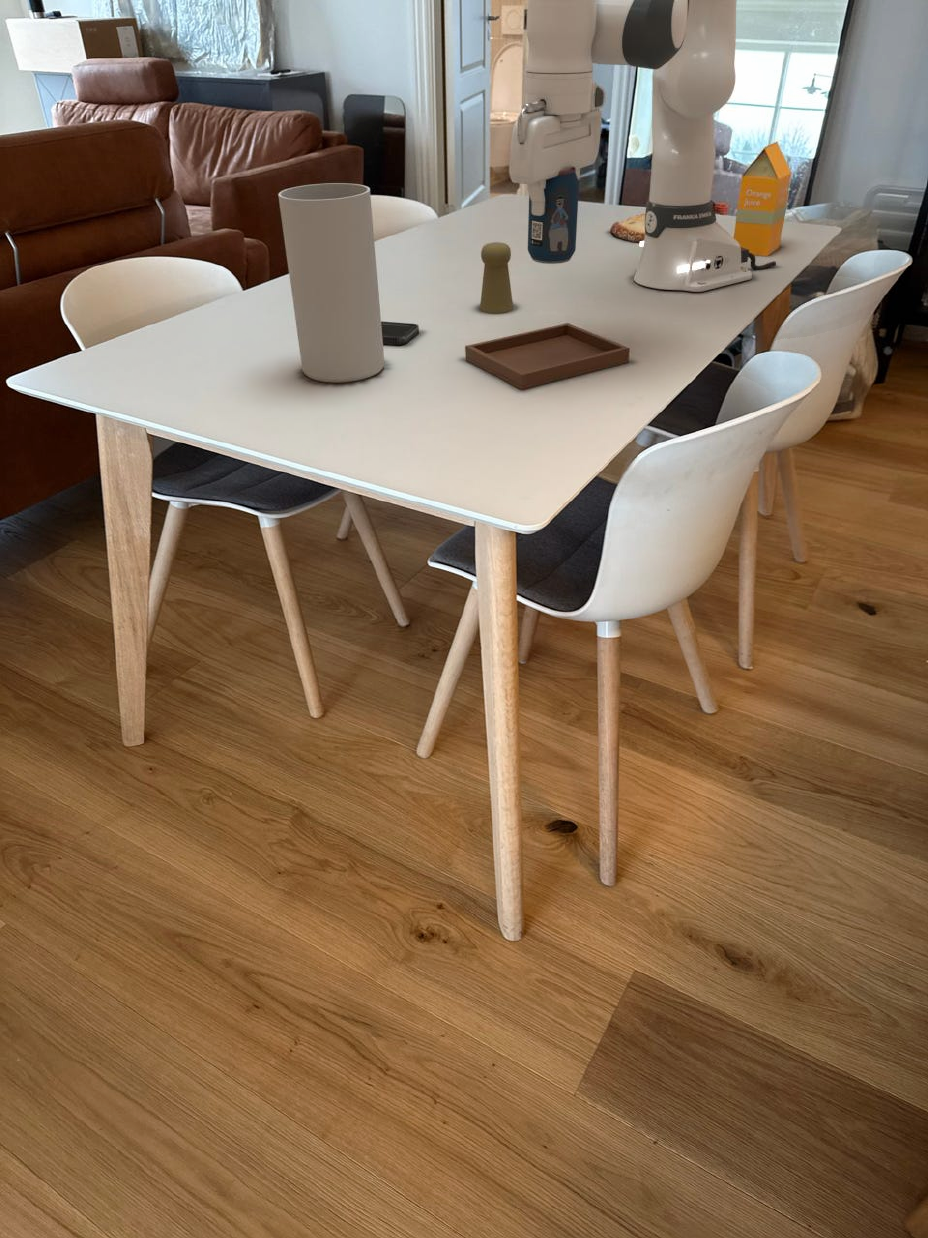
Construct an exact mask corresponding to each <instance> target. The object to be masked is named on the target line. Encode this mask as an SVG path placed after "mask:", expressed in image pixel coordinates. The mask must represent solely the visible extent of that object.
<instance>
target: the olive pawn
mask: <svg viewBox="0 0 928 1238" xmlns="http://www.w3.org/2000/svg"><path fill="white" fill-rule="evenodd" d="M511 256H512V251H511V247H510V246H509V245H508V244H507V243H504V242H500V241H498V242H497V241H496V242H495V241H494V242H489V243H486V244H484V245H483V246H482V248H481V251H480V257H481V261H482V263H483V264H484V266H483V275H482V284H481V285H482V286H481V294H480V305H479V311H481V312H484V313H487V314H503V313H509V312H511V311H512V310H514V303H513V294H512V287H511V279H510V278H511V277H510V271H509V262H510V261H511V258H512V257H511Z"/></svg>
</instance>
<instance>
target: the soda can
mask: <svg viewBox="0 0 928 1238" xmlns="http://www.w3.org/2000/svg"><path fill="white" fill-rule="evenodd" d="M575 171H576V168H575V167H573V169H572V170H570V171H562V172H559V174H558V176H556V177H553V178H550V179H547V180H546V188H544V195H545V200H548V207H547V209H548V211H547V213H546V214H544V215H541V216H537V215H533V214H532V212H531V208H532V201H531V199H530V196H529V195H528V218H527V219H528V220H527V221H528V222H527V223H528V225H527V251H528V254H529V256H530V258H531V260H532V261H534V262H536V263H539V264H545V265H557V264H564V263H568V262H570V260H571V259H572V257H573V256H574V254H575V252H576V250H577V232H578V231H577V228H578V212H579V192H580V179H579V180H578V178H577V175H576V173H575Z"/></svg>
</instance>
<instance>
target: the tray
mask: <svg viewBox="0 0 928 1238" xmlns="http://www.w3.org/2000/svg"><path fill="white" fill-rule="evenodd" d="M464 351H465V352H464V353H465V354H464V356H465V359H464V360H465V361H467V362H468V363H470V364H473V365H475V366H476V367H478V368H479V369H482V370H483V371H486V372H488V373H489V374H491V375H493V376H495V377H497V378H499V379H501V380H502V381H504V382H506V383H508V384H510V385H512V386H514V387H516V388H518V389H520V390H527V389H530V388H534V387H538V386H541V385H546V384H550V383H553V382H558V381H561V380H566V379H569V378H573V377H576V376H581V375H585V374H589V373H592V372H596V371H600V370H604V369H608V368H612V367H615V366H620V365H624V364H628V363H629V362H630V351H631V350H630V347H628V346H625V345H623V344H621V343H619V342H617V341H613V340H611V339H609V338H606V337H603V336H601V335H598V334H596V333H594V332H591V331H589V330H587V329H584V328H581V327H579V326H576V325H575V324H572V323H569V322H565V323H562V324H557V325H552V326H548V327H544V328H540V329H534V330H531V331H525V332H522V333H521V332H520V333H516V334H512V335H509V336H504V337H500V338H499V337H498V338H494V339H491V340H486V341H482V342H478V343H473V344H468V345H465V346H464Z"/></svg>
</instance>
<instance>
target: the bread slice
mask: <svg viewBox="0 0 928 1238" xmlns="http://www.w3.org/2000/svg"><path fill="white" fill-rule="evenodd" d="M609 232H610V233H611V234H613V235H614V236H615V237H616V238H617V239H620V240H623V241H624V240H625V241H628V242H633V243H640V241H644V238H645V213H640V214H639V215H638V214H637V215H635V216H632V217H629V218H626V219H625V220H623V221H615V222H614V223H613V224H612V225H611V227H610V229H609Z"/></svg>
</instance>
